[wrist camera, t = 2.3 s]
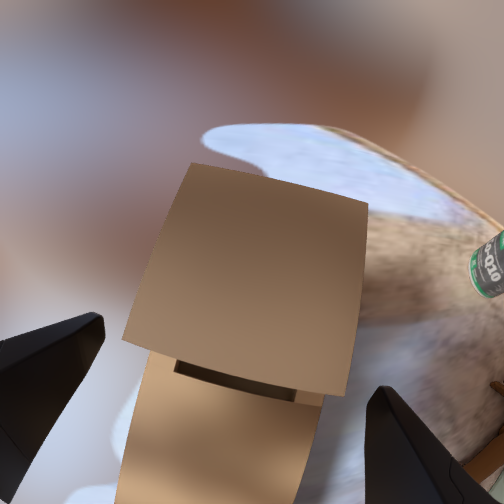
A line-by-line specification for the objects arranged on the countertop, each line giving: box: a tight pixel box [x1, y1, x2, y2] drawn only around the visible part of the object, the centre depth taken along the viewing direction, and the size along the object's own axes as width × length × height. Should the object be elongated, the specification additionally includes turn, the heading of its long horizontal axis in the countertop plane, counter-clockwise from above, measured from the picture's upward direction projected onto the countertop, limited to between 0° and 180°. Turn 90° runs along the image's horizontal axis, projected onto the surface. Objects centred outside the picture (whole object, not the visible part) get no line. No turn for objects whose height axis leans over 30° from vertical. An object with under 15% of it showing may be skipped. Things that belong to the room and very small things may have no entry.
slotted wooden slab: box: [114, 350, 325, 504], centre depth 14 cm, size 18×9×4 cm, turn 166°
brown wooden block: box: [122, 163, 368, 397], centre depth 11 cm, size 4×4×12 cm
